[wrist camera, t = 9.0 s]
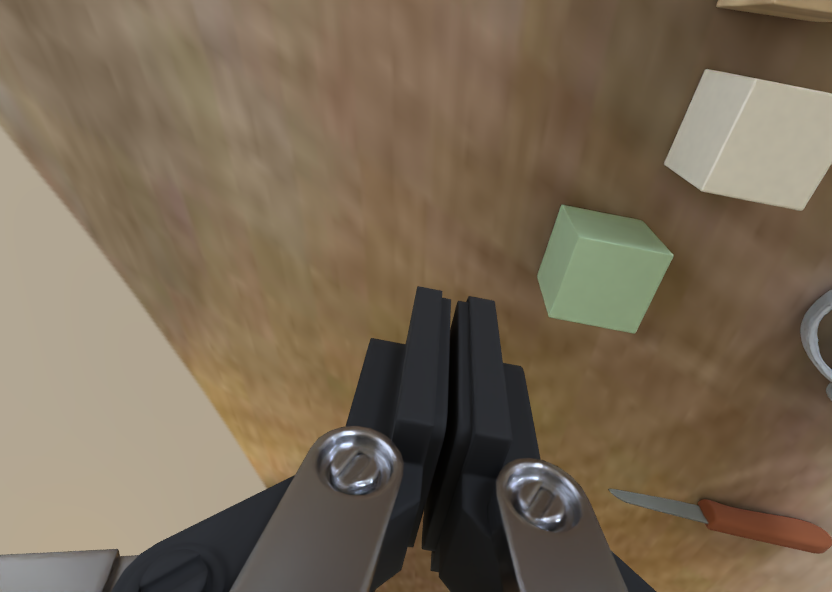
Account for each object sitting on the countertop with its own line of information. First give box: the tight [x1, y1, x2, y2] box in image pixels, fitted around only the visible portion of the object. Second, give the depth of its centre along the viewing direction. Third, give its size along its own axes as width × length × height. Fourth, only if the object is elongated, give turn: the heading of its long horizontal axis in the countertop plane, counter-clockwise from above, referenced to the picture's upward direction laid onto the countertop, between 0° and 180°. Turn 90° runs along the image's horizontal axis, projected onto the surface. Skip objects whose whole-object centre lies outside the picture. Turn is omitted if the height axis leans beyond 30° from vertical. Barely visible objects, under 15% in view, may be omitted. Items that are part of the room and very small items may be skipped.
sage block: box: [537, 205, 673, 334], centre depth 23 cm, size 4×4×4 cm
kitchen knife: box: [608, 489, 832, 553], centre depth 33 cm, size 16×1×2 cm, turn 77°
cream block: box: [664, 69, 832, 211], centre depth 20 cm, size 4×4×4 cm
